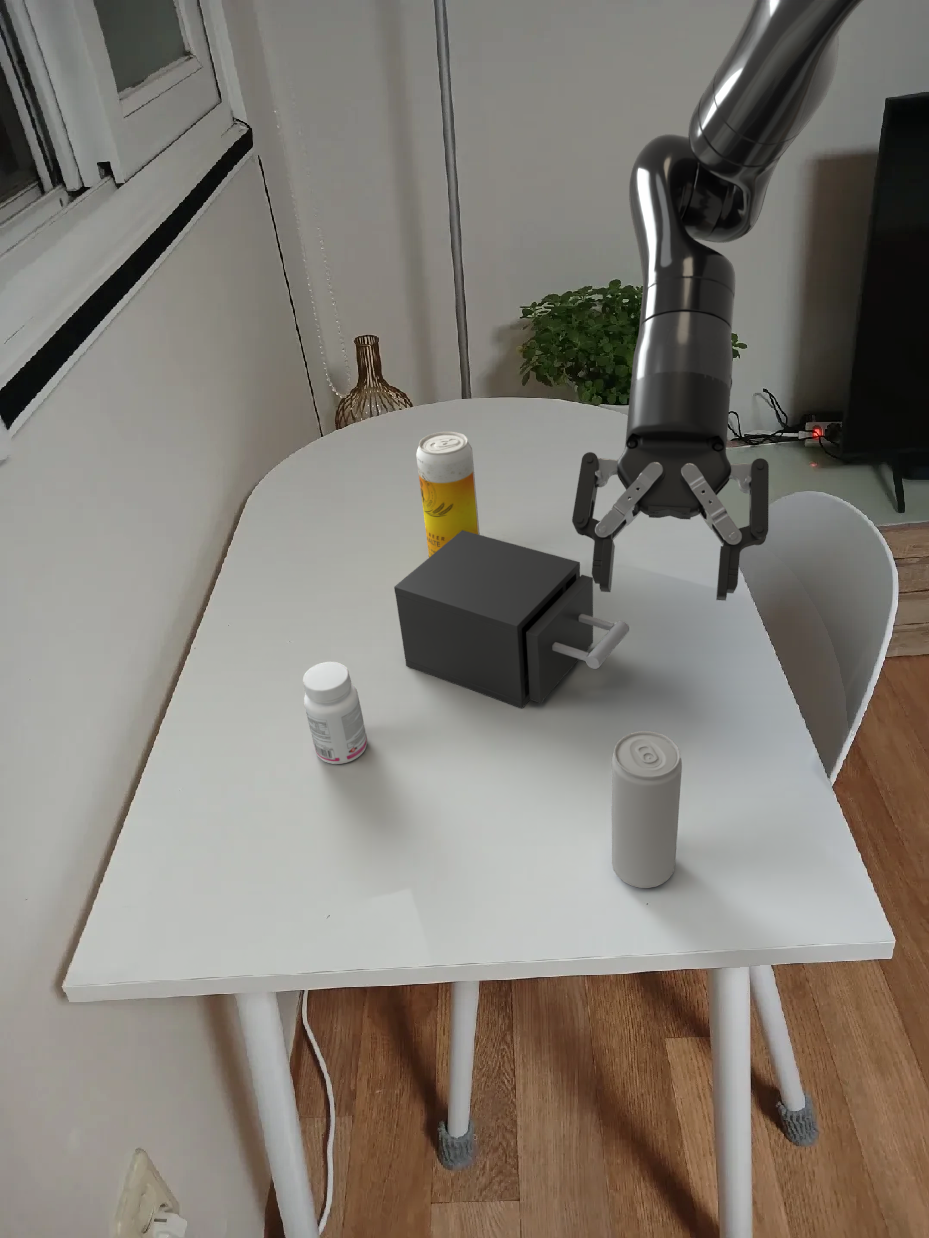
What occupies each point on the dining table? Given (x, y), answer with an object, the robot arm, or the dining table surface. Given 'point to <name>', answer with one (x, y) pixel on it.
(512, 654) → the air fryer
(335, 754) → the pill bottle
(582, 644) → the drawer
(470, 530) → the beer can
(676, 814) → the beverage can
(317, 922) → the dining table surface
